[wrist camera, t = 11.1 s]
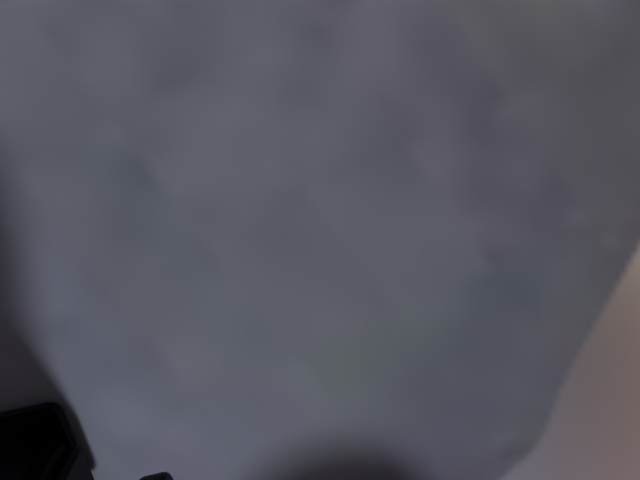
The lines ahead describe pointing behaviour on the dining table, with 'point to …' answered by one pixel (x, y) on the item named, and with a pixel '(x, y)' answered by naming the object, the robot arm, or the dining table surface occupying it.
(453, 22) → the dining table surface
